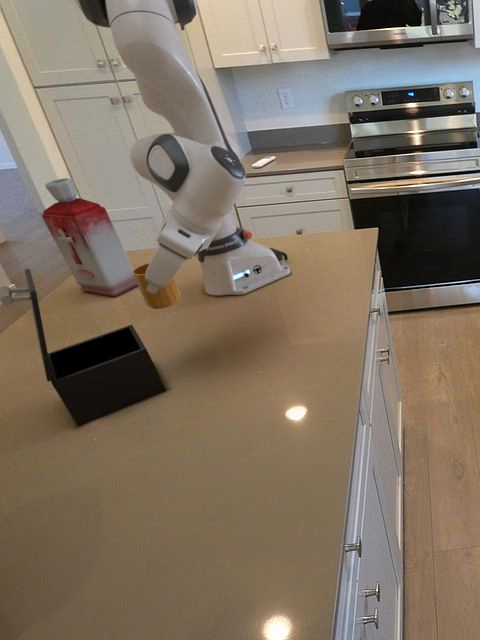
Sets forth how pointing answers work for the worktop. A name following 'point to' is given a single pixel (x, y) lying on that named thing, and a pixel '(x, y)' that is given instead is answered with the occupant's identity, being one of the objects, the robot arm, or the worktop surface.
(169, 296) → the golden yellow cup
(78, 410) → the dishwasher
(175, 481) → the worktop surface
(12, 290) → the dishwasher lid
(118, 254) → the bottle
